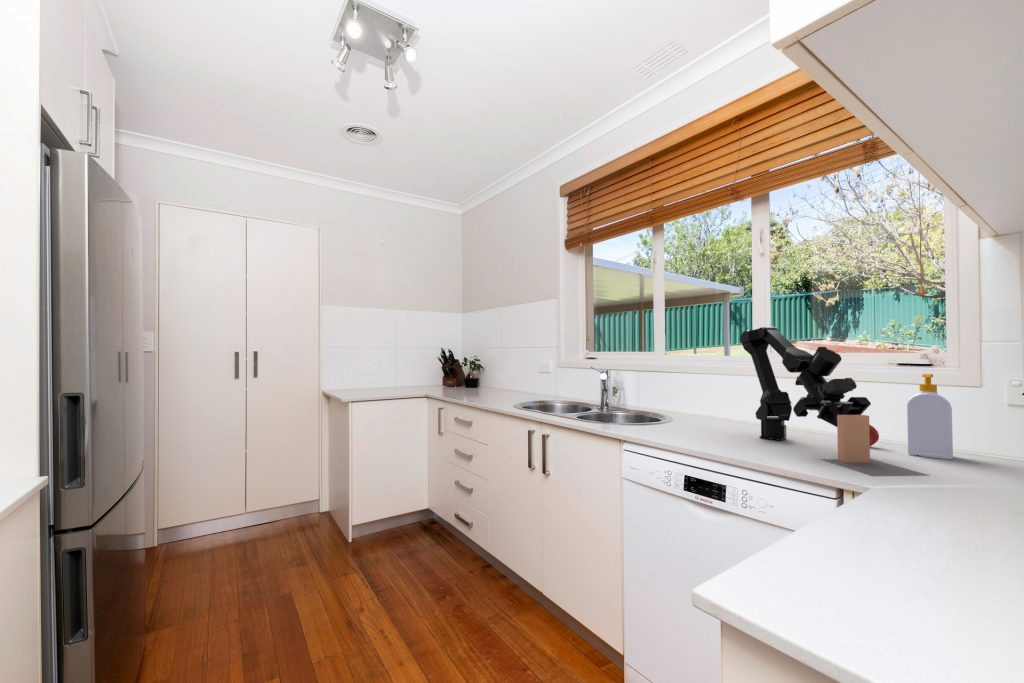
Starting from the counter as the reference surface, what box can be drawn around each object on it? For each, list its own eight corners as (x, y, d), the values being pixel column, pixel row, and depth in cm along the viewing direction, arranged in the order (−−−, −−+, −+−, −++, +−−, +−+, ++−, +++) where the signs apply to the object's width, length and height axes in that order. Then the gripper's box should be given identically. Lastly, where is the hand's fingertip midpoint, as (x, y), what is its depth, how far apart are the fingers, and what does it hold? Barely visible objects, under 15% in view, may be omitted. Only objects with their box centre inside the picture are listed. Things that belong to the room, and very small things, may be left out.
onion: (851, 446, 135) (850, 420, 135) (860, 444, 138) (860, 419, 138) (873, 450, 130) (873, 423, 130) (883, 448, 133) (882, 421, 133)
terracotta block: (837, 460, 115) (837, 414, 116) (863, 460, 116) (862, 414, 116) (844, 462, 113) (843, 415, 114) (870, 462, 114) (869, 415, 114)
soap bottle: (908, 455, 123) (906, 373, 124) (908, 451, 129) (906, 373, 129) (953, 460, 117) (951, 374, 118) (951, 456, 123) (949, 374, 123)
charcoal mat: (820, 460, 117) (820, 459, 117) (870, 460, 118) (870, 458, 118) (872, 477, 101) (872, 475, 101) (930, 477, 102) (930, 475, 102)
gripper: (799, 368, 122) (830, 413, 110) (864, 368, 122) (902, 412, 111) (781, 394, 129) (809, 438, 118) (842, 394, 130) (875, 438, 119)
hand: (848, 431), depth 116 cm, fingers closed
